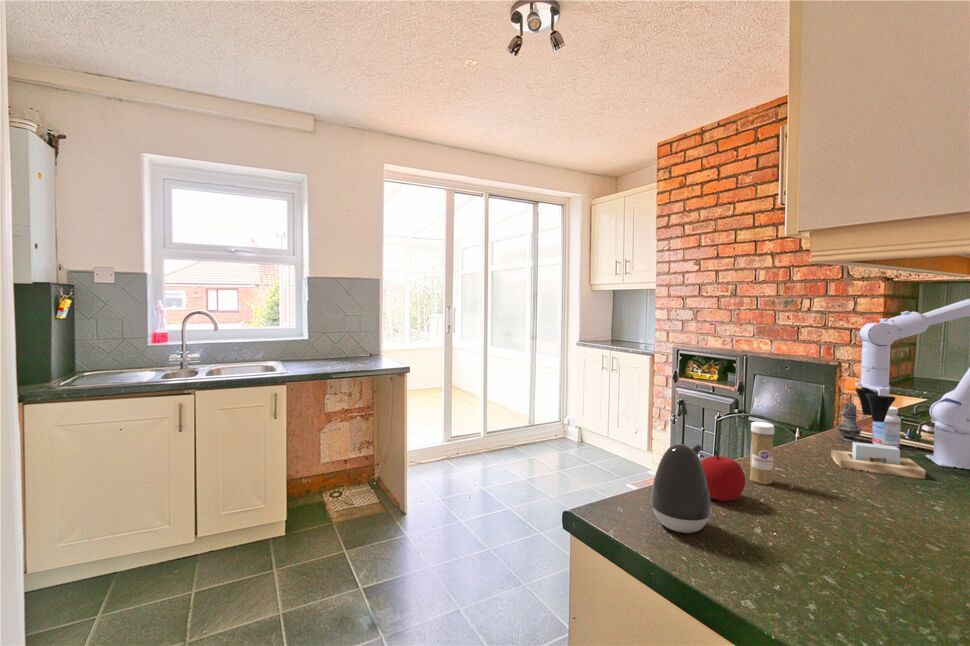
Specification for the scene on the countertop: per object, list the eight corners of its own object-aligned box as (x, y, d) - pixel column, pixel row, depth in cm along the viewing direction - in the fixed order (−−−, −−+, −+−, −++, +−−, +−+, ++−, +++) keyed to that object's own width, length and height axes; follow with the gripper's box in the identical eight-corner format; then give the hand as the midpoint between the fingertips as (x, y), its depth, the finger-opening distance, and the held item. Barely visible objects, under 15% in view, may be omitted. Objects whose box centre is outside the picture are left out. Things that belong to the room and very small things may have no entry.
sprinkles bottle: (756, 485, 102) (758, 426, 101) (745, 477, 106) (747, 420, 106) (777, 485, 102) (779, 426, 101) (764, 477, 106) (766, 421, 106)
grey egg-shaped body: (723, 531, 81) (726, 448, 80) (686, 546, 76) (688, 457, 75) (675, 508, 90) (676, 433, 89) (638, 520, 85) (640, 441, 84)
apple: (721, 510, 89) (723, 460, 89) (685, 492, 98) (687, 447, 97) (754, 502, 93) (756, 454, 92) (717, 486, 101) (718, 442, 101)
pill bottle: (867, 441, 135) (869, 404, 134) (892, 443, 133) (894, 405, 132) (878, 447, 129) (879, 408, 128) (904, 449, 127) (906, 410, 126)
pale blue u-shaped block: (894, 468, 113) (895, 446, 112) (899, 472, 110) (900, 450, 110) (851, 462, 116) (852, 441, 116) (855, 466, 114) (856, 445, 113)
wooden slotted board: (909, 466, 114) (909, 458, 114) (925, 479, 106) (925, 470, 105) (830, 456, 121) (831, 449, 120) (840, 468, 112) (840, 460, 112)
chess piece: (866, 442, 133) (868, 402, 132) (846, 442, 133) (848, 402, 133) (851, 436, 139) (852, 398, 138) (831, 436, 139) (833, 398, 138)
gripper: (848, 363, 128) (846, 410, 129) (865, 370, 115) (863, 422, 116) (880, 365, 125) (878, 413, 126) (901, 372, 112) (898, 426, 113)
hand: (873, 418), depth 121 cm, fingers open, 7 cm apart
